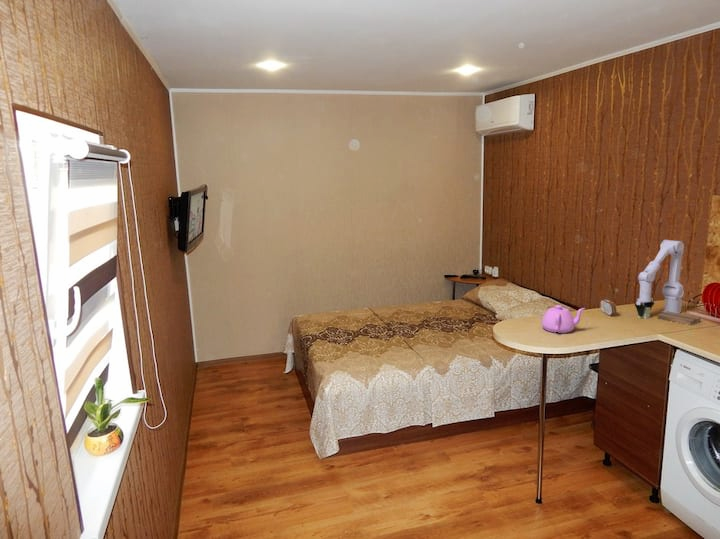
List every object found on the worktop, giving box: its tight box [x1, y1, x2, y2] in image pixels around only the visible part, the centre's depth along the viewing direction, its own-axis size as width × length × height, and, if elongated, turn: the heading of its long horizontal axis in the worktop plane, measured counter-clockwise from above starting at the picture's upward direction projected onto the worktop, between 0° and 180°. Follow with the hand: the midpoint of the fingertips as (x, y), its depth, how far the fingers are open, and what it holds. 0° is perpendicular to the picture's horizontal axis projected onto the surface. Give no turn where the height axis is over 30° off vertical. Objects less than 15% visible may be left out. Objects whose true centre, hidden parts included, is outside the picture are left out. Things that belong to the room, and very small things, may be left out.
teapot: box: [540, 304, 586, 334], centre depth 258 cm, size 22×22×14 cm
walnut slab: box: [657, 311, 701, 326], centre depth 268 cm, size 11×17×3 cm, turn 31°
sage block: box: [637, 307, 651, 320], centre depth 276 cm, size 4×4×6 cm
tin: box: [600, 298, 617, 317], centre depth 286 cm, size 15×3×8 cm, turn 179°
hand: (643, 314), depth 276 cm, fingers open, 7 cm apart
